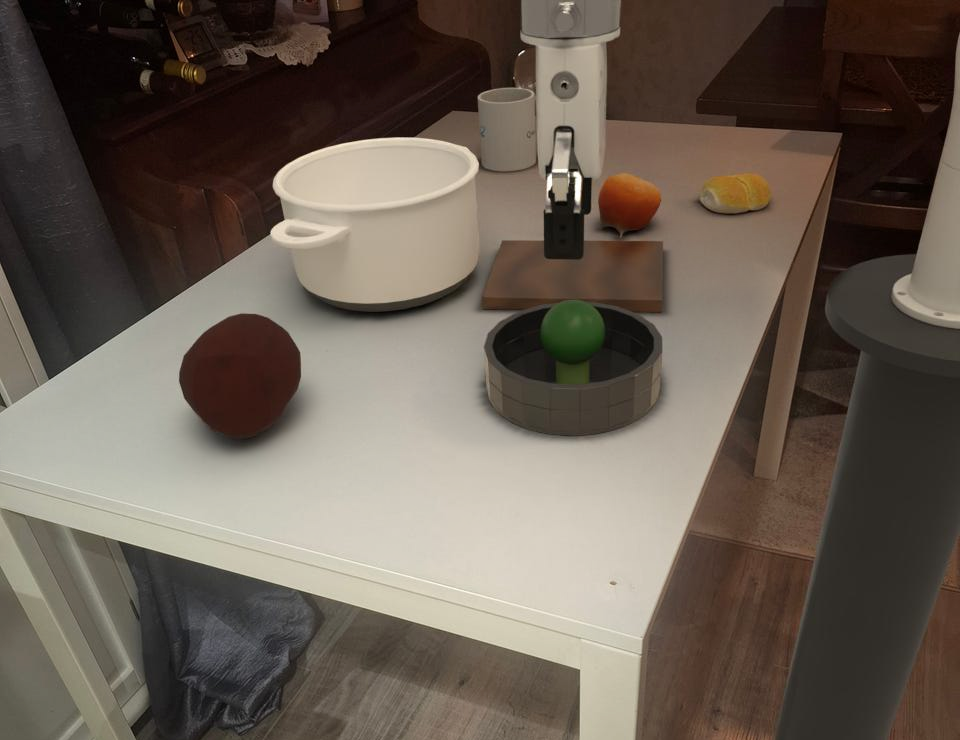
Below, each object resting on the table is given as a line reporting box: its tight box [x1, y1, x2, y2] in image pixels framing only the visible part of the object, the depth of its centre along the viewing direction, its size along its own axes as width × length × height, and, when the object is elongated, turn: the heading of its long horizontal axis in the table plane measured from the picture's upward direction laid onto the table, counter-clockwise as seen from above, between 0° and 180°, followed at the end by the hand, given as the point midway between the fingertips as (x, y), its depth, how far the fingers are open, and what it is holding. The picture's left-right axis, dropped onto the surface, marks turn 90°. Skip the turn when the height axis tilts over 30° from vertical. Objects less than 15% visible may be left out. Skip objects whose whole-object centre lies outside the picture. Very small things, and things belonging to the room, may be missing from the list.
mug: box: [477, 87, 537, 172], centre depth 139 cm, size 12×9×10 cm
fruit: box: [597, 172, 662, 239], centre depth 115 cm, size 8×8×8 cm
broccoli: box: [540, 300, 605, 385], centre depth 84 cm, size 6×6×8 cm
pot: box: [269, 137, 480, 313], centre depth 105 cm, size 33×23×14 cm
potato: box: [178, 312, 302, 440], centre depth 83 cm, size 11×13×10 cm
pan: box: [483, 302, 663, 437], centre depth 85 cm, size 17×17×5 cm
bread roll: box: [699, 172, 772, 214], centre depth 120 cm, size 8×9×4 cm
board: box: [481, 239, 664, 313], centre depth 105 cm, size 20×16×2 cm
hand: (568, 234), depth 77 cm, fingers open, 9 cm apart
